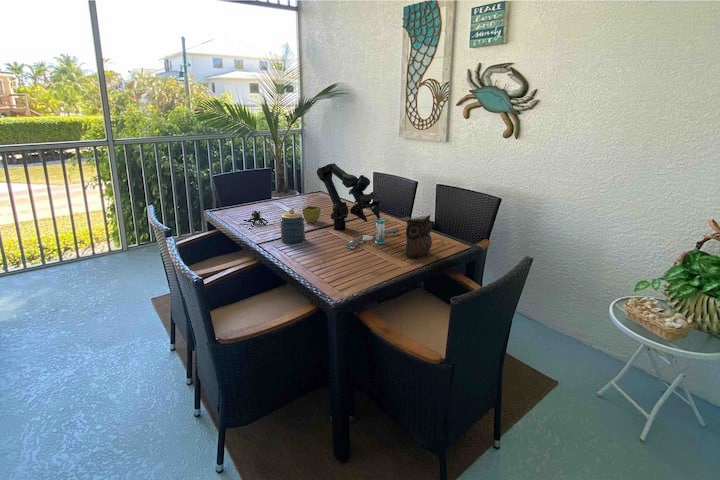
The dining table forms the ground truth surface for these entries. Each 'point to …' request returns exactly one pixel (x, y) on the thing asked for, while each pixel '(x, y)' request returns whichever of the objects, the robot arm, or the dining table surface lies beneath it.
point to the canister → (292, 227)
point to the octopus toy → (256, 217)
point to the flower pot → (311, 213)
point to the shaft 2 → (390, 231)
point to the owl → (418, 237)
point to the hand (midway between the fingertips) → (373, 219)
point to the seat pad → (367, 237)
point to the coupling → (380, 231)
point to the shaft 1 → (357, 240)
